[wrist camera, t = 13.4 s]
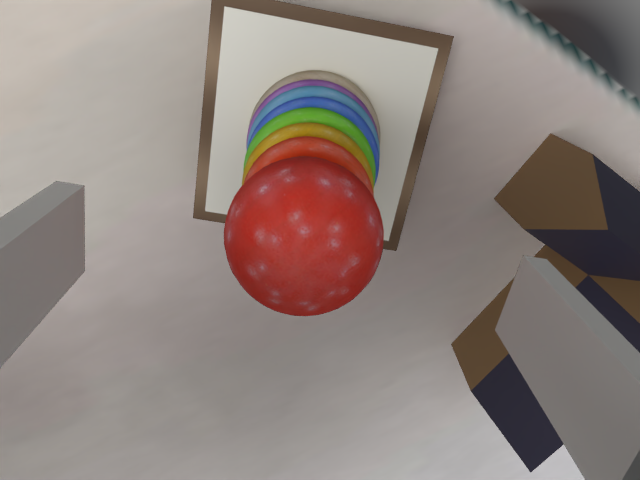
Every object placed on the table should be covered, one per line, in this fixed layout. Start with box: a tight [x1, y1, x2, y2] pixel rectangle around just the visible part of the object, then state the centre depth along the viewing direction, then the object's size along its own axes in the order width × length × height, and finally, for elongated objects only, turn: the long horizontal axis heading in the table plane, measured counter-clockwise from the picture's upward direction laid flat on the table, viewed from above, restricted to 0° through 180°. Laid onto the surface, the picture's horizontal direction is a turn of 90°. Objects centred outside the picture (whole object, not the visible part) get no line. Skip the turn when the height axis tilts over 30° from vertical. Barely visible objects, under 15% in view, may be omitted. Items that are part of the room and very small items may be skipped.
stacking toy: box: [224, 70, 384, 316], centre depth 23 cm, size 8×8×19 cm
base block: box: [193, 0, 454, 251], centre depth 34 cm, size 14×14×6 cm
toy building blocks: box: [451, 134, 640, 472], centre depth 31 cm, size 12×19×25 cm, turn 146°
